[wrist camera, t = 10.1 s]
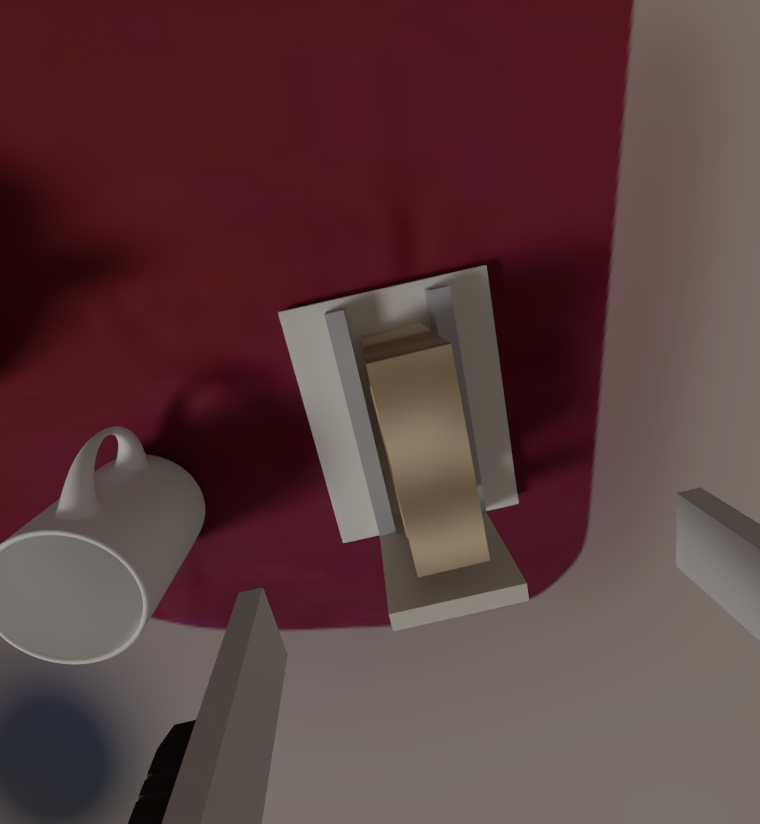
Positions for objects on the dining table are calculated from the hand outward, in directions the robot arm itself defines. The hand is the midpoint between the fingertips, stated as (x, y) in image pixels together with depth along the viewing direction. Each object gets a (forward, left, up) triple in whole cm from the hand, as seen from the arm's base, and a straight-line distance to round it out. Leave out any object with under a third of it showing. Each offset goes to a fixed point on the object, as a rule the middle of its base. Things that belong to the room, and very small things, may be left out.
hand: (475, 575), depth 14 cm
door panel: (0, 0, -18) cm, 18 cm away
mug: (+2, -20, -20) cm, 28 cm away
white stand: (+1, 0, -20) cm, 20 cm away
